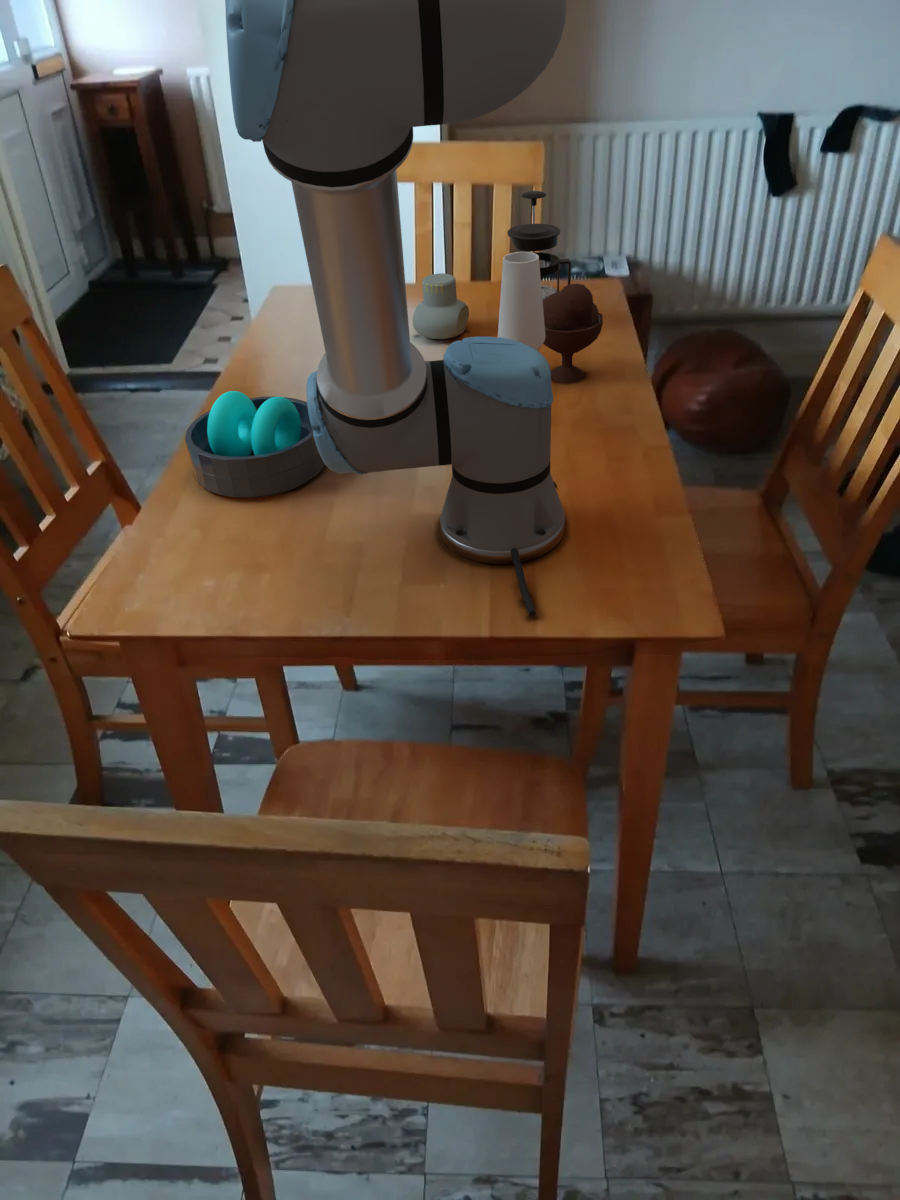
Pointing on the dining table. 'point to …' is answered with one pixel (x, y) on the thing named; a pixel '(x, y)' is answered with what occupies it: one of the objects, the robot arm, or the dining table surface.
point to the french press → (539, 243)
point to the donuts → (251, 425)
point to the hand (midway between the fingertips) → (369, 243)
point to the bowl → (254, 461)
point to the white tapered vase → (521, 300)
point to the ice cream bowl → (570, 327)
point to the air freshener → (440, 309)
